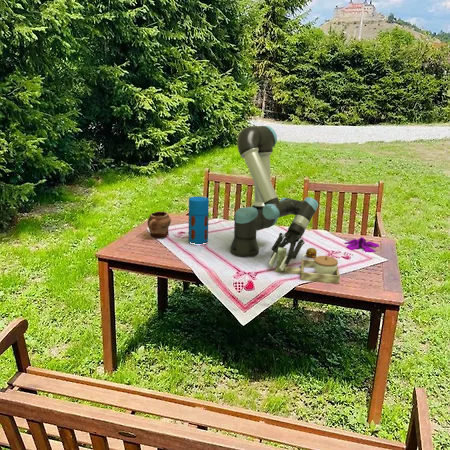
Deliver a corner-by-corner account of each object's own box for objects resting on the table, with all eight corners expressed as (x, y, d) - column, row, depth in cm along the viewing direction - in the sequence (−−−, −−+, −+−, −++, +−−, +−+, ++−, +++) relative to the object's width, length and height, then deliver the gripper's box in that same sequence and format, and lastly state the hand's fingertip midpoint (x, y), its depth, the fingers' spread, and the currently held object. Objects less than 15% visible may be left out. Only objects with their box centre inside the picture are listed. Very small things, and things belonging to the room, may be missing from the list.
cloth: (380, 244, 250) (381, 234, 248) (379, 255, 233) (381, 244, 231) (340, 239, 257) (341, 229, 255) (337, 249, 240) (338, 238, 238)
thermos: (200, 247, 236) (201, 202, 228) (184, 243, 241) (184, 199, 234) (211, 241, 245) (212, 198, 237) (196, 237, 250) (196, 195, 242)
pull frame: (274, 277, 200) (275, 255, 197) (276, 263, 216) (277, 242, 213) (339, 283, 196) (341, 260, 192) (336, 268, 212) (338, 247, 208)
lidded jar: (309, 271, 209) (311, 252, 206) (331, 270, 210) (333, 252, 207) (317, 280, 198) (319, 261, 196) (339, 279, 200) (342, 260, 197)
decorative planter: (161, 244, 239) (160, 219, 234) (141, 241, 242) (140, 217, 238) (175, 233, 257) (175, 210, 253) (156, 230, 260) (155, 208, 256)
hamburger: (294, 257, 226) (295, 248, 225) (307, 252, 235) (308, 242, 233) (314, 264, 218) (315, 254, 217) (326, 258, 227) (327, 248, 225)
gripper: (317, 235, 206) (294, 277, 200) (285, 225, 218) (263, 265, 212) (312, 227, 201) (288, 269, 195) (279, 218, 213) (256, 257, 207)
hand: (275, 267), depth 204 cm, fingers closed on pull frame, 6 cm apart
